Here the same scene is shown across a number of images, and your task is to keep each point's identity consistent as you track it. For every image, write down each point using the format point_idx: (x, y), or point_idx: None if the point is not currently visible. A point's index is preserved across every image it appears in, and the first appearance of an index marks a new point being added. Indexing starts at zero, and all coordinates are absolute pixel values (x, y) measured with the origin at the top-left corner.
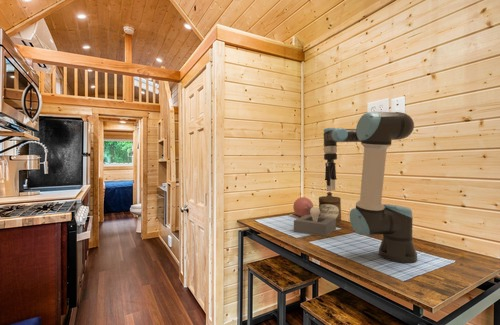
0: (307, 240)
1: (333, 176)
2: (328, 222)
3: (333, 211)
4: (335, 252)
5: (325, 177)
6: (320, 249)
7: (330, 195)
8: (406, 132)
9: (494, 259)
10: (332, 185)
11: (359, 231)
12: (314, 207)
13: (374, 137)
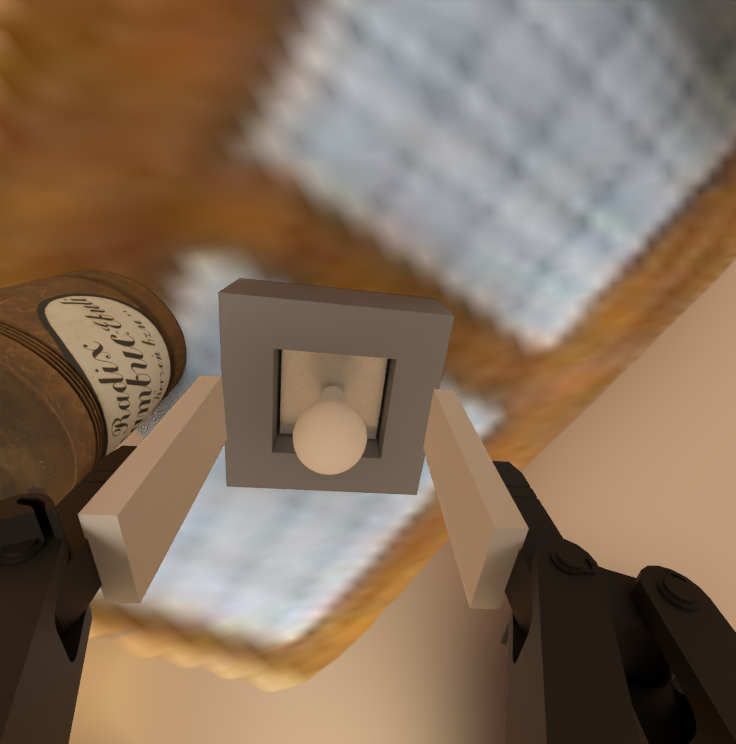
0: (526, 362)
1: (48, 654)
2: (384, 312)
3: (113, 337)
4: (676, 199)
5: (670, 689)
6: (645, 275)
7: None
8: None
9: None
10: (194, 463)
11: None
12: (345, 456)
13: None
